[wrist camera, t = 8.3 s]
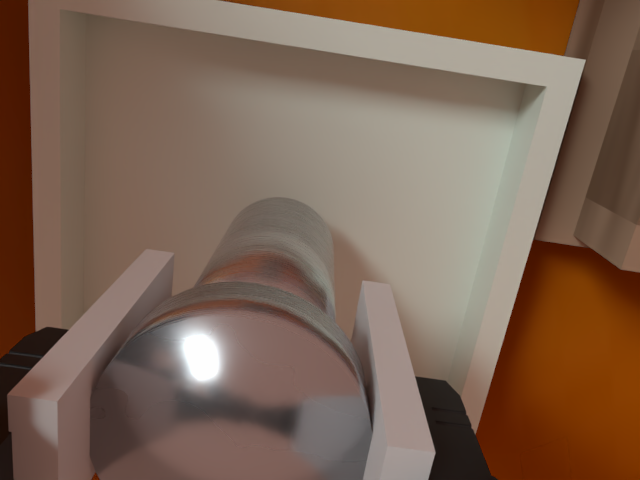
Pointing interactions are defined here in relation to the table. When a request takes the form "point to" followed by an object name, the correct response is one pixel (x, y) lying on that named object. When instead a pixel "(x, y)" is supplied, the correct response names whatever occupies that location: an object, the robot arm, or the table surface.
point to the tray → (294, 158)
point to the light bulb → (240, 367)
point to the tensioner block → (600, 139)
